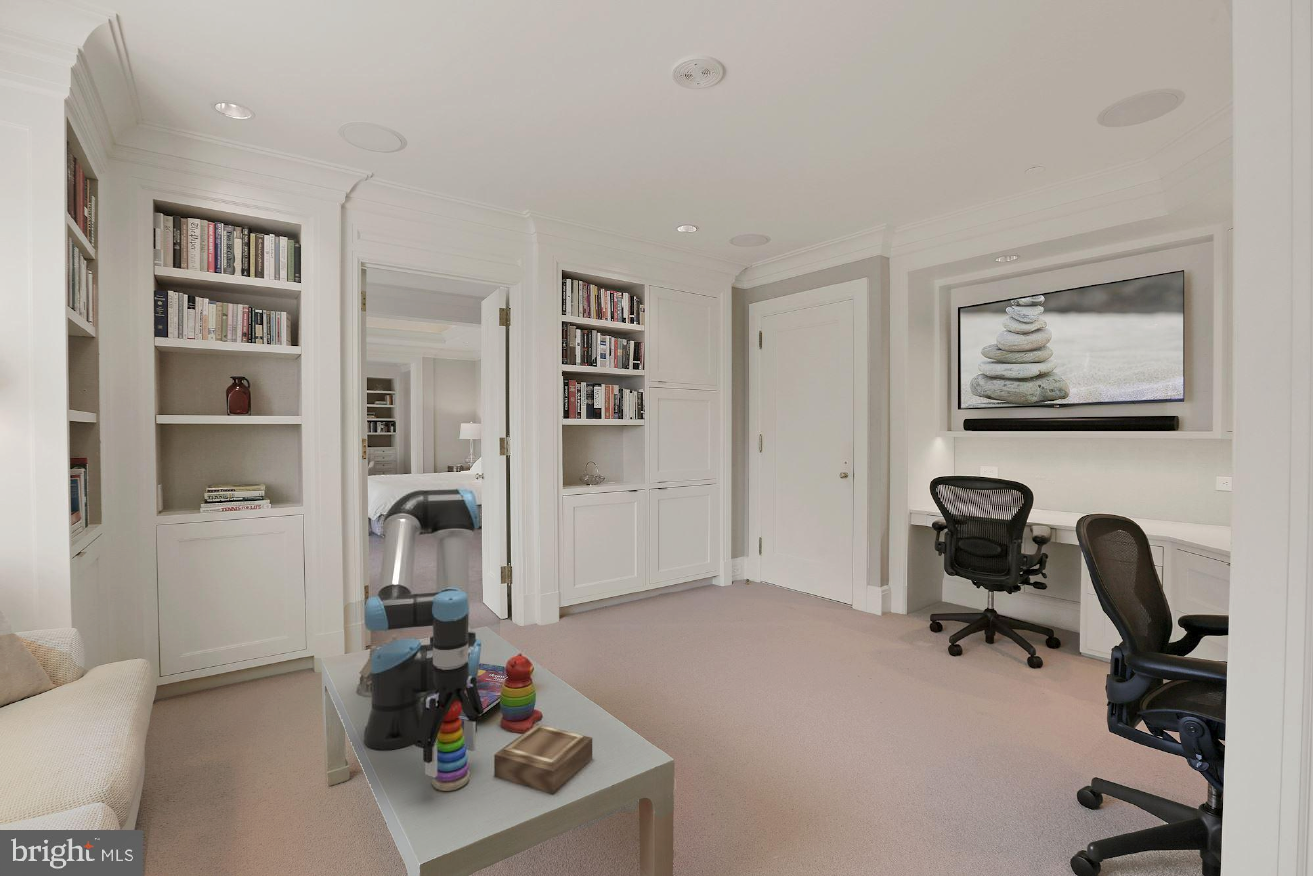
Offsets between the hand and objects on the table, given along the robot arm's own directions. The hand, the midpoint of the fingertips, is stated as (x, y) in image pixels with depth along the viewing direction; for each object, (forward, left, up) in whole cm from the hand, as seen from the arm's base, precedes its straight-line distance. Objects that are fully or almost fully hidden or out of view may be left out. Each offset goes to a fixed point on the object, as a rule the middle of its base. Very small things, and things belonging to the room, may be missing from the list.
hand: (451, 761), depth 138 cm
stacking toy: (0, 0, -5) cm, 5 cm away
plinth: (+15, +14, -5) cm, 21 cm away
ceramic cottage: (-53, +29, -5) cm, 60 cm away
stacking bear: (-4, +29, -5) cm, 30 cm away
